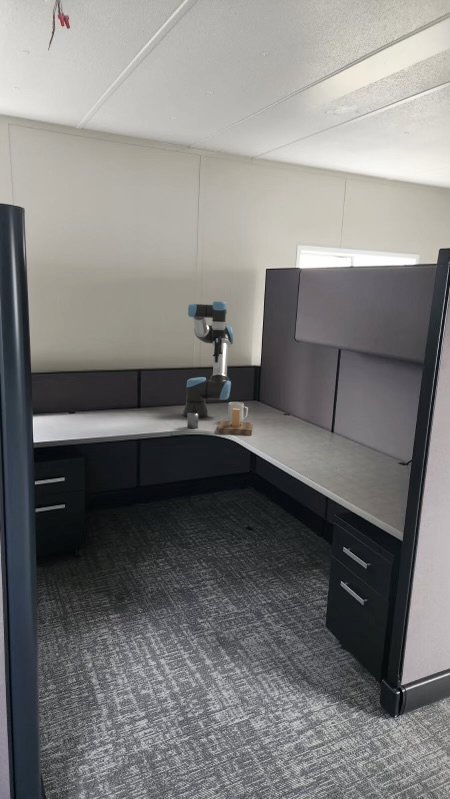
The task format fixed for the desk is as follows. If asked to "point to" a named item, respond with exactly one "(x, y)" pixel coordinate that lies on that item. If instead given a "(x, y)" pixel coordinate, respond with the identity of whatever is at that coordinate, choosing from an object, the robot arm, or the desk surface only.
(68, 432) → the desk surface
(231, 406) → the mug
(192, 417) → the grey rounded block
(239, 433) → the socket block
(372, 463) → the desk surface
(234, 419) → the square peg
